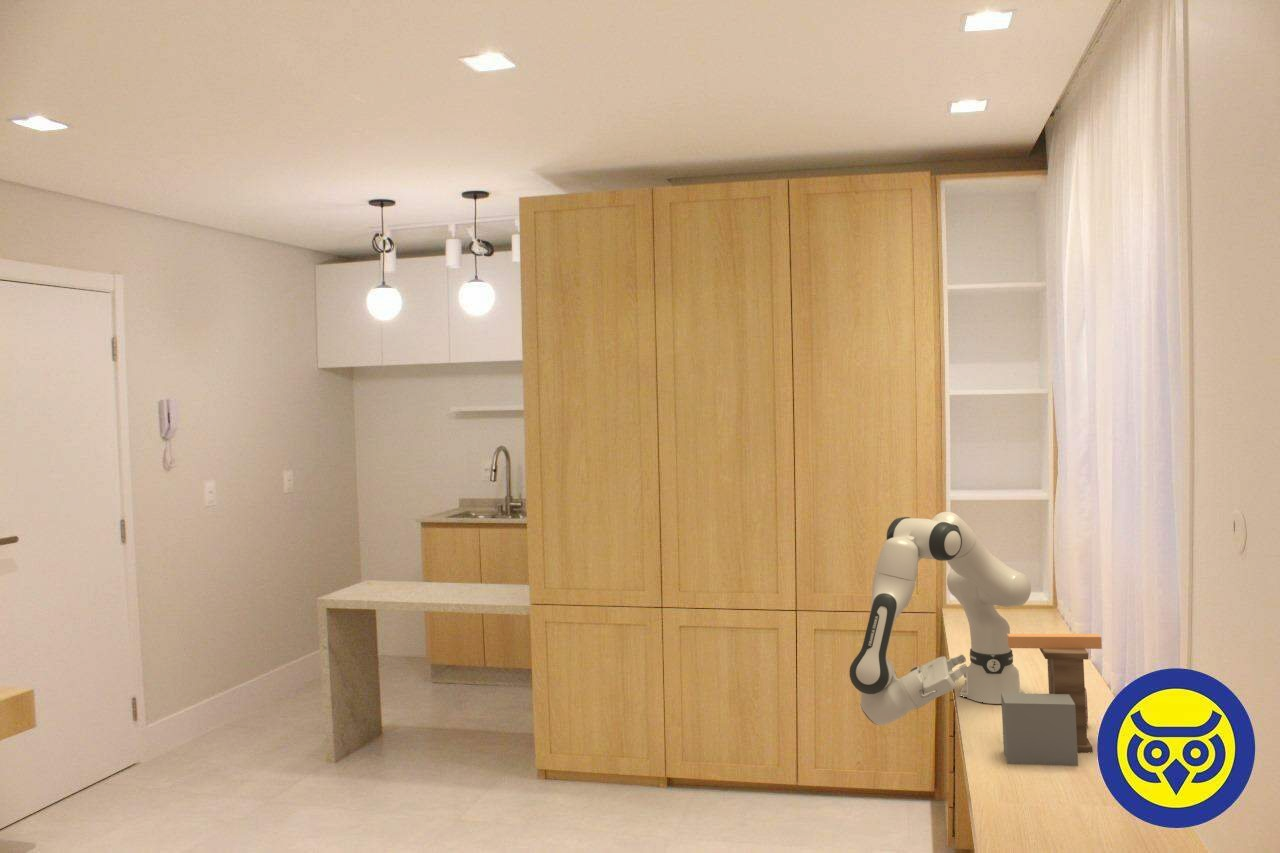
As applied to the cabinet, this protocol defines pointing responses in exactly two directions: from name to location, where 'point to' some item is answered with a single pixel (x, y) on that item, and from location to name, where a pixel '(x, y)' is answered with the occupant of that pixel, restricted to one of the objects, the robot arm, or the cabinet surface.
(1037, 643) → the orange square-ended block
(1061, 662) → the walnut stand
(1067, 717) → the grey step block
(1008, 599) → the robot arm
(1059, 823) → the cabinet surface
